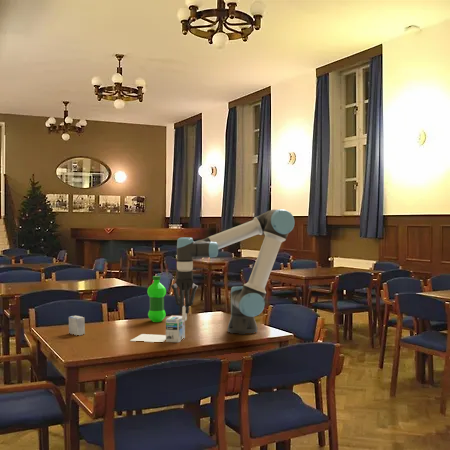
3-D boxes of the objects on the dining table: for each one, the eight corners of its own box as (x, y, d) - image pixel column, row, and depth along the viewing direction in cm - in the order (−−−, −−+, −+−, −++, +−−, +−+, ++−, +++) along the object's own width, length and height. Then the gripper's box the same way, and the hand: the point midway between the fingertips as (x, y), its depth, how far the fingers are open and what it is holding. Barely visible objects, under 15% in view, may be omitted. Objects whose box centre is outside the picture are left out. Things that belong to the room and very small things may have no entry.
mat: (172, 336, 281) (172, 335, 281) (162, 342, 266) (162, 342, 266) (141, 334, 285) (141, 333, 285) (129, 341, 270) (129, 340, 270)
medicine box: (85, 334, 285) (85, 317, 285) (77, 336, 282) (77, 318, 281) (76, 332, 290) (76, 315, 290) (68, 333, 287) (68, 316, 287)
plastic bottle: (165, 322, 314) (165, 277, 314) (146, 322, 314) (145, 277, 314) (167, 319, 324) (167, 275, 324) (148, 319, 325) (148, 275, 324)
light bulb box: (179, 342, 267) (179, 319, 267) (165, 342, 268) (165, 319, 268) (185, 337, 277) (185, 315, 277) (171, 337, 279) (171, 315, 278)
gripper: (200, 270, 273) (200, 319, 273) (174, 269, 276) (173, 318, 276) (195, 271, 266) (195, 322, 266) (169, 270, 269) (168, 321, 269)
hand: (184, 320), depth 271 cm, fingers closed
